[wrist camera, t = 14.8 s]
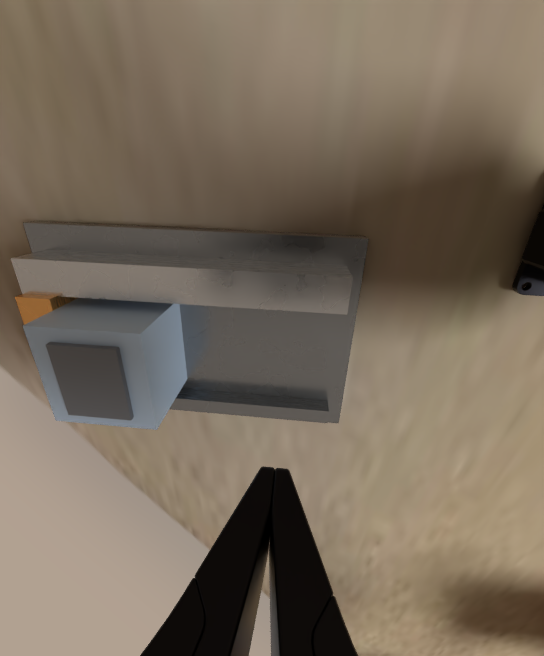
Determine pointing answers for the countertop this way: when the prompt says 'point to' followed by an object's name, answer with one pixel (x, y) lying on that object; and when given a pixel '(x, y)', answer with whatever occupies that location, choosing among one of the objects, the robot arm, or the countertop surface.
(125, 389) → the block
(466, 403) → the countertop surface
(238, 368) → the rail plate
